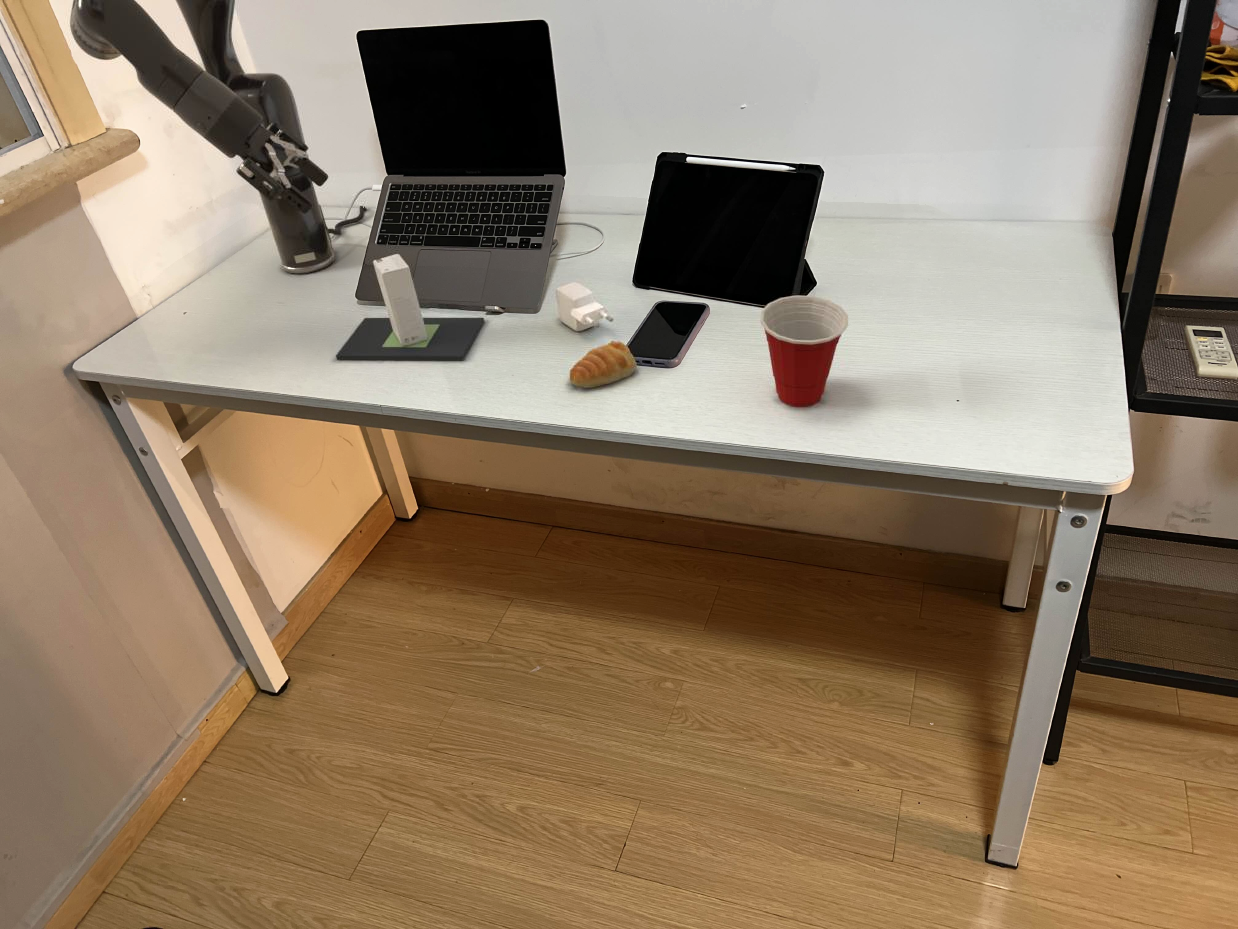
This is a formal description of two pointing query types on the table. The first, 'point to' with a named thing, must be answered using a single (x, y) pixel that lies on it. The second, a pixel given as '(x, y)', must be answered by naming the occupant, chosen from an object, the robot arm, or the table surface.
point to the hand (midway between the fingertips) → (317, 195)
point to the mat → (442, 344)
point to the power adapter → (579, 307)
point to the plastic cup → (802, 345)
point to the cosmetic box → (400, 299)
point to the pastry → (603, 366)
